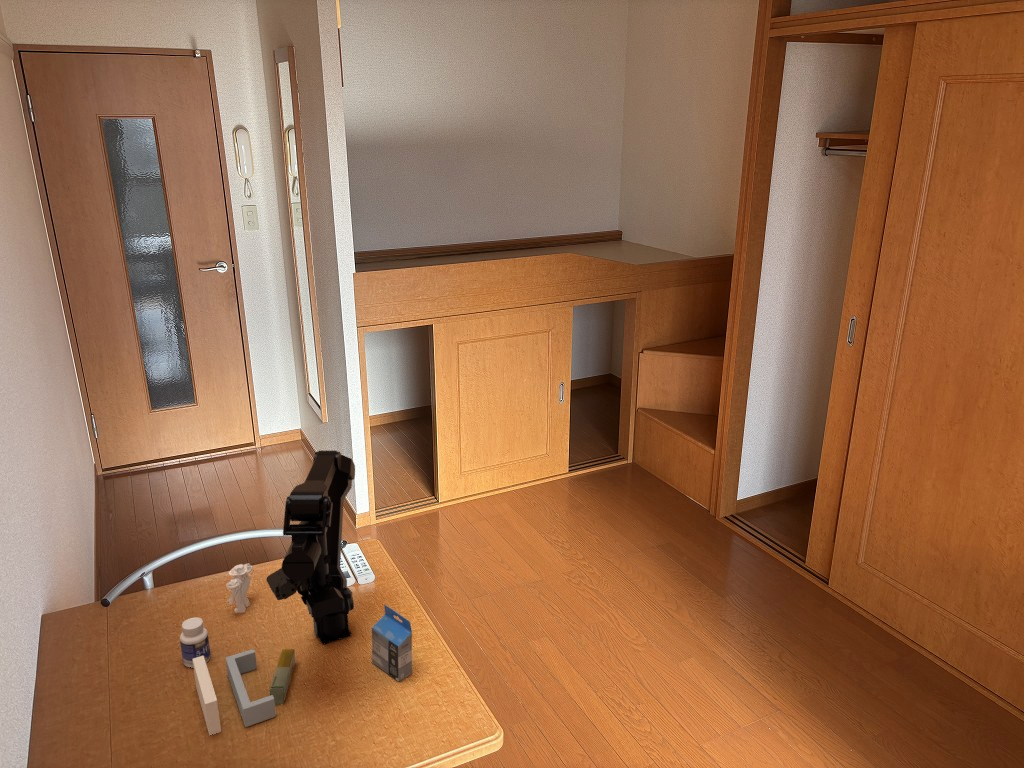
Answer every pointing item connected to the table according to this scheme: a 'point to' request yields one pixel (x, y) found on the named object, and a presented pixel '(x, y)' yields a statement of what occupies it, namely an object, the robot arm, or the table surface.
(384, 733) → the table surface
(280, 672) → the medication box
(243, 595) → the flower shoulder figurine
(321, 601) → the robot arm
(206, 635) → the pill bottle
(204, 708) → the wall
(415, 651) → the table surface
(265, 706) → the cradle
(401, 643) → the label tape box
